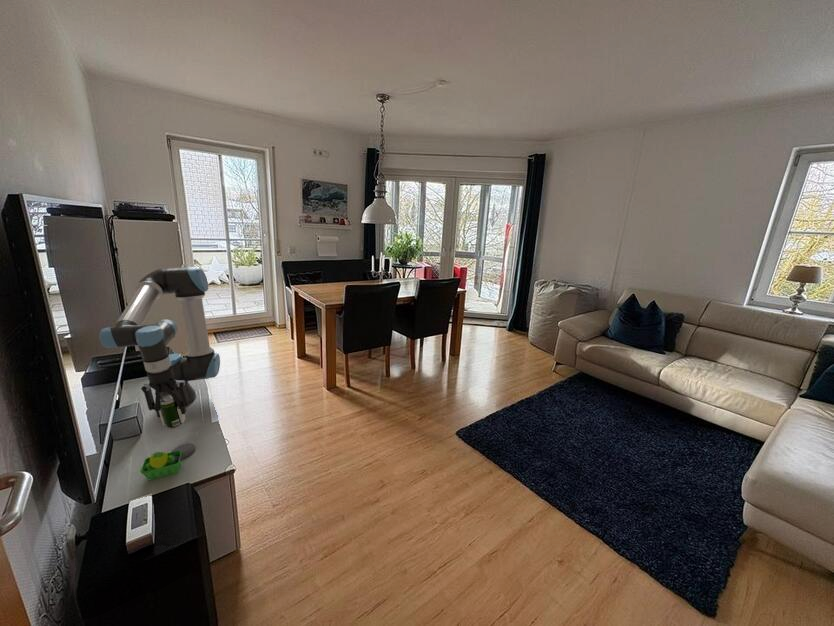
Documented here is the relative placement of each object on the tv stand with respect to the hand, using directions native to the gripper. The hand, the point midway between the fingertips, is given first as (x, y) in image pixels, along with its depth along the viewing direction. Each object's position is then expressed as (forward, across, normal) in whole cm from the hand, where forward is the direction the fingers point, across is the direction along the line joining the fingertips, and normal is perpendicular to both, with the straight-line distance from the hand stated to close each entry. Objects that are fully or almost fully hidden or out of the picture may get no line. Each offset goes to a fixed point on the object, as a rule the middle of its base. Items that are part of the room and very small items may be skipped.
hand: (174, 421), depth 132 cm
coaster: (+15, 0, 0) cm, 15 cm away
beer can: (+1, 0, 0) cm, 1 cm away
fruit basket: (+15, -3, -10) cm, 18 cm away
